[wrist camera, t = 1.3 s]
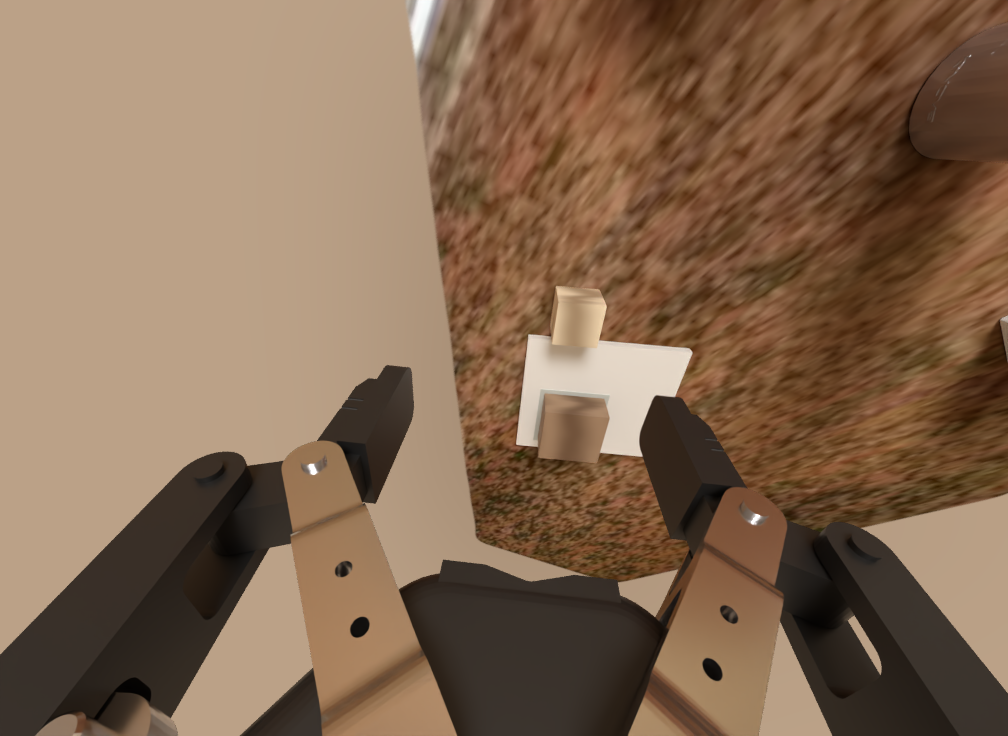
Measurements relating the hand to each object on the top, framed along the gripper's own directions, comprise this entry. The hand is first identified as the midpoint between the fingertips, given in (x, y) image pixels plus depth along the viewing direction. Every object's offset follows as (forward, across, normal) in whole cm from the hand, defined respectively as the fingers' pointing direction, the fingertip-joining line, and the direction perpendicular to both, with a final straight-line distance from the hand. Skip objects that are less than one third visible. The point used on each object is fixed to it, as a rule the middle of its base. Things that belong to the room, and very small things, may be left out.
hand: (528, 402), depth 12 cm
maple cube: (+31, -6, +9) cm, 33 cm away
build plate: (+31, -11, +22) cm, 40 cm away
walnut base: (+30, -8, +25) cm, 40 cm away
